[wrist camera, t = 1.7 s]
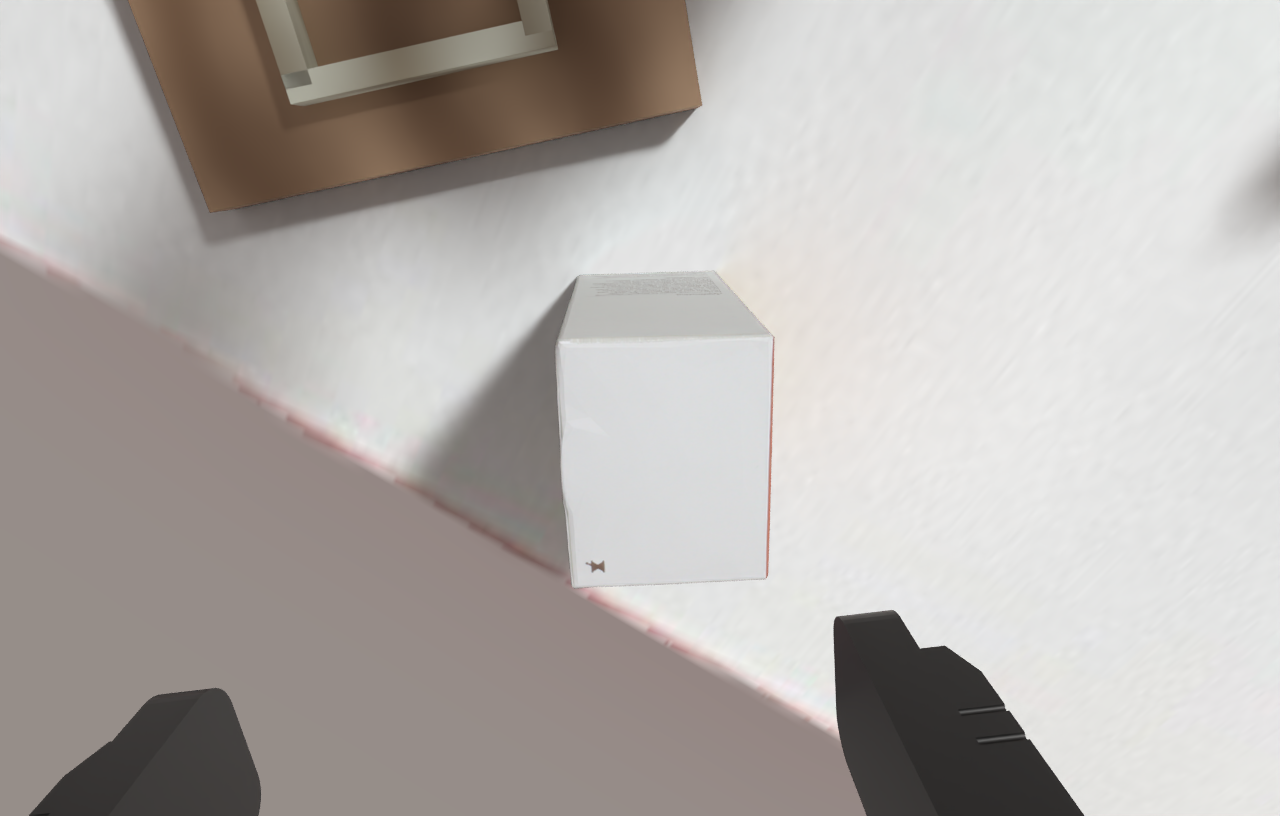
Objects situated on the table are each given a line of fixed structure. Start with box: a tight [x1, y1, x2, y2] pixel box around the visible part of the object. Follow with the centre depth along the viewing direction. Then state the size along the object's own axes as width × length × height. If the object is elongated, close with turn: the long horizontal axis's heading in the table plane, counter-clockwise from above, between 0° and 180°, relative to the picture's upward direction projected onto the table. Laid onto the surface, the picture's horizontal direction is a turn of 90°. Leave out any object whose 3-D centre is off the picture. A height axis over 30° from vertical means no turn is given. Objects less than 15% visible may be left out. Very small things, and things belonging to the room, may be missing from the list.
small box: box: [555, 271, 774, 589], centre depth 28 cm, size 8×6×13 cm
